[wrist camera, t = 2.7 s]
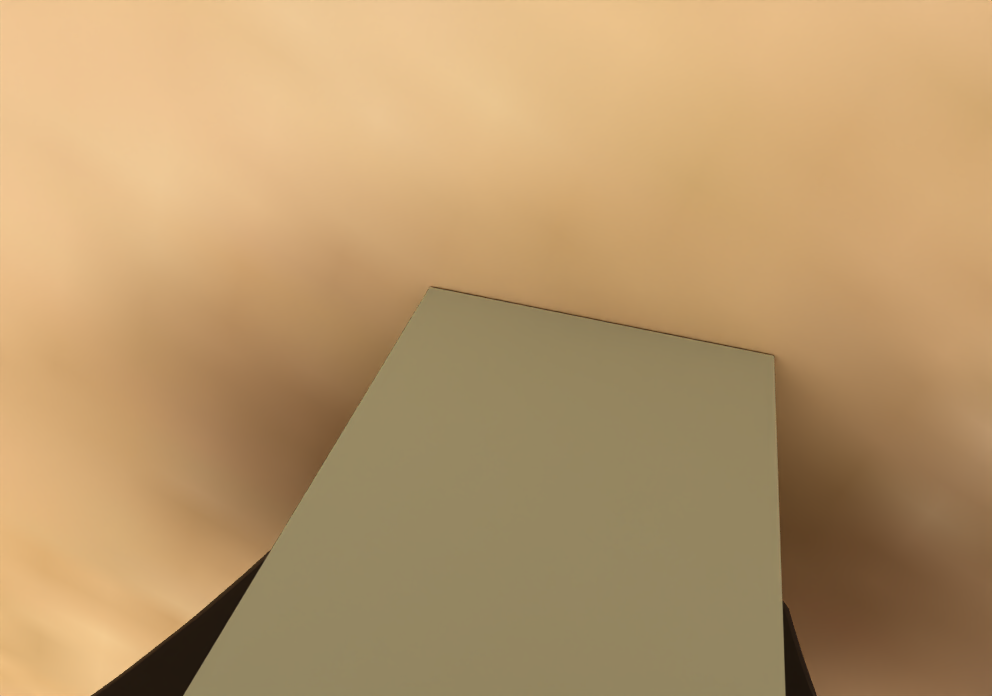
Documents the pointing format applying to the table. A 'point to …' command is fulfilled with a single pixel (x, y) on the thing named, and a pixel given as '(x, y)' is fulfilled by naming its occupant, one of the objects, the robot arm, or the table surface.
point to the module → (529, 523)
